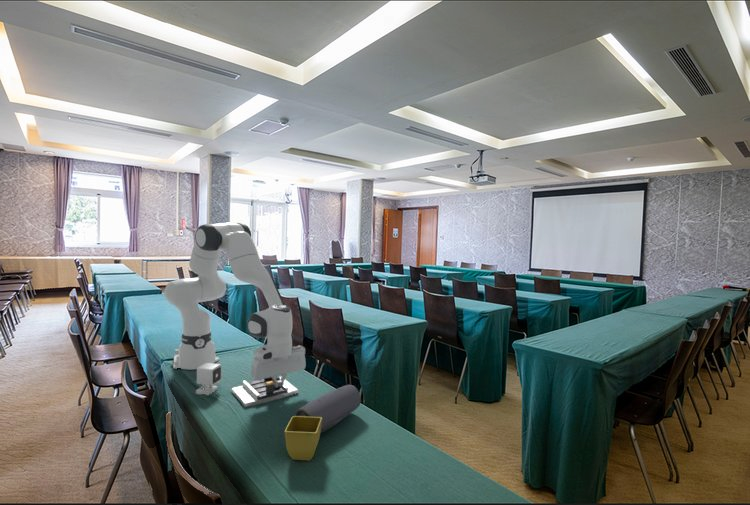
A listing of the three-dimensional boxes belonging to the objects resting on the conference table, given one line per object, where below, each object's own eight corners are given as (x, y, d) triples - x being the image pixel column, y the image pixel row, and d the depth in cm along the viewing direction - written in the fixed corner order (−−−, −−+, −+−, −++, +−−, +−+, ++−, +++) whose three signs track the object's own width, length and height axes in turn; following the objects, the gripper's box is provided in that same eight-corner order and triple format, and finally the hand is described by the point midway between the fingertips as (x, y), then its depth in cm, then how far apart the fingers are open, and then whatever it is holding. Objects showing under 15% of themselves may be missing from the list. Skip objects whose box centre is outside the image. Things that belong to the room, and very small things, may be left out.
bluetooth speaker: (340, 407, 134) (341, 379, 133) (361, 415, 128) (362, 387, 128) (291, 435, 115) (292, 403, 115) (314, 446, 110) (314, 412, 109)
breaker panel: (231, 391, 143) (231, 377, 143) (281, 380, 155) (281, 366, 155) (245, 407, 131) (245, 391, 131) (298, 393, 144) (298, 378, 143)
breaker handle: (265, 391, 138) (265, 382, 138) (272, 390, 140) (272, 380, 139) (267, 393, 137) (267, 383, 136) (274, 391, 138) (274, 382, 138)
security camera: (211, 396, 139) (211, 369, 138) (194, 394, 140) (194, 367, 140) (221, 389, 145) (221, 363, 145) (205, 387, 147) (205, 361, 146)
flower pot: (291, 445, 110) (292, 415, 109) (321, 446, 110) (322, 416, 109) (283, 464, 101) (283, 431, 100) (316, 465, 101) (316, 433, 100)
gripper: (301, 342, 148) (300, 377, 149) (249, 351, 136) (248, 389, 137) (309, 346, 143) (308, 382, 144) (255, 356, 131) (255, 395, 132)
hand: (279, 386), depth 140 cm, fingers closed
